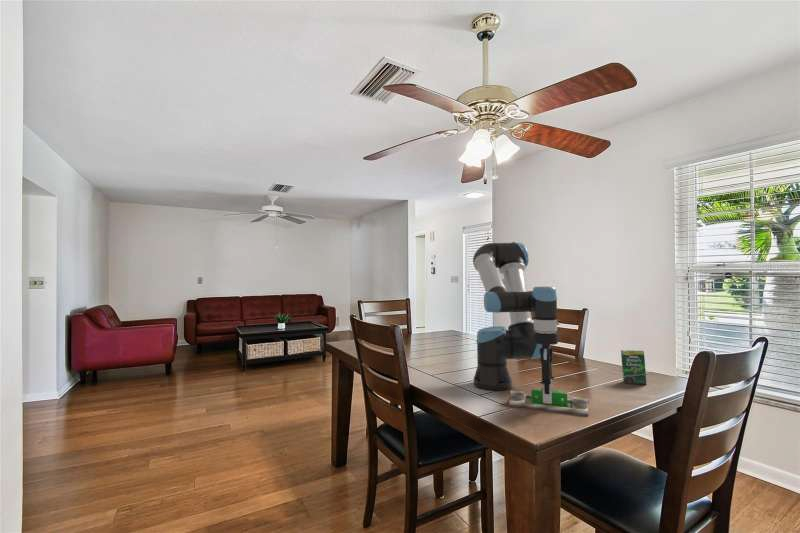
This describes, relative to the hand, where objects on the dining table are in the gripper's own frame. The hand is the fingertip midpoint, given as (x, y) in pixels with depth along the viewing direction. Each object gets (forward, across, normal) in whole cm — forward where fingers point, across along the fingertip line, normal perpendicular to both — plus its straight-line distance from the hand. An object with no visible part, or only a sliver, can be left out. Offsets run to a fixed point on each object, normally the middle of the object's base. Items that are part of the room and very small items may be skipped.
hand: (547, 400), depth 124 cm
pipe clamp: (+1, 0, -1) cm, 1 cm away
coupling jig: (+2, 0, 0) cm, 2 cm away
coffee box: (+2, +41, -30) cm, 51 cm away
